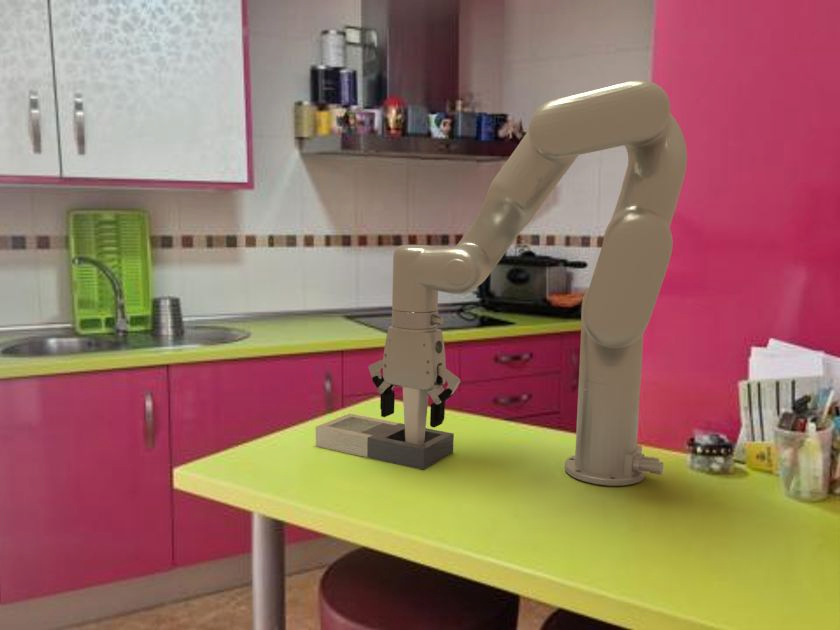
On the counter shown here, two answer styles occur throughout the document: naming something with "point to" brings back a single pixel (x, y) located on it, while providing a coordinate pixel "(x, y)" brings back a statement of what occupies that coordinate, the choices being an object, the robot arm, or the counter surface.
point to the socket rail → (383, 441)
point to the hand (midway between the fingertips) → (411, 420)
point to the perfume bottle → (415, 414)
